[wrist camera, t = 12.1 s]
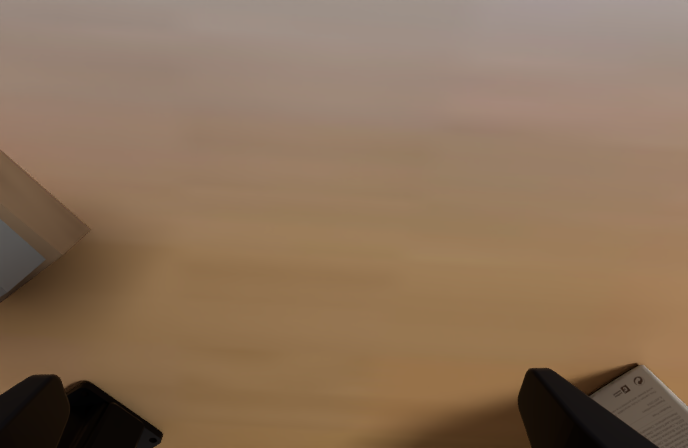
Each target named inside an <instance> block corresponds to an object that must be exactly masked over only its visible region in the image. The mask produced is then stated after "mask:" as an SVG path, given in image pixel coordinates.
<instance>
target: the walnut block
mask: <svg viewBox="0 0 688 448" xmlns="http://www.w3.org/2000/svg"><path fill="white" fill-rule="evenodd" d="M0 219H1V220H2V221H3V222H4V223H6V224H7V225H8V226H9V227H10V228H11V229H12V230H14V231H15V232H16V233H17V234H18V235H19V236H20V237H21V238H23V239H24V240H25V241H26V242H27V243H28V244H29V245H30V246H32V247H33V248H34V249H35V250H36V251H37V252H38V253H39V254H41V255H42V256H43V257H44V258H45V259H46V260H45V261H44V262H42V263H41V264H40V265H39V266H38V267H37V268H35V269H34V270H33V271H32V272H31V273H30V274H28V275H27V276H26V277H25V278H24V279H23V280H21V281H20V282H19V283H18V284H17V285H16V286H14V287H13V288H12V289H11V290H10V291H9V292H7V293H6V294H4V295H3V296H1V297H0V302H2V301H3V300H4V299H6V298H7V297H8V296H10V295H11V294H12V293H14V292H15V291H16V290H17V289H19V288H20V287H21V286H23V285H24V284H25V283H27V282H28V281H29V280H31V279H32V278H33V277H35V276H36V275H37V274H39V273H40V272H41V271H42V270H44V269H45V268H46V267H48V266H49V265H50V264H52V263H53V262H54V261H56V260H57V259H58V258H60V257H61V256H62V255H63V254H65V253H66V252H67V251H68V250H69V249H70V248H71V247H72V246H73V245H75V244H76V243H77V242H78V241H79V240H80V239H81V238H82V237H83V236H85V235H86V234H87V233H88V232H89V231H90V230H91V229H90V228H89V227H88V226H87V225H86V224H84V223H83V222H82V221H81V220H80V219H79V218H78V217H76V216H75V215H74V214H73V213H72V212H71V211H70V210H68V209H67V208H66V207H65V206H64V205H63V204H62V203H60V202H59V201H58V200H57V199H56V198H55V197H54V196H53V195H51V194H50V193H49V192H48V191H47V190H46V189H45V188H43V187H42V186H41V185H40V184H39V183H38V182H37V181H35V180H34V179H33V178H32V177H31V176H30V175H29V174H27V173H26V172H25V171H24V170H23V169H22V168H21V167H20V166H18V165H17V164H16V163H15V162H14V161H13V160H12V159H10V158H9V157H8V156H7V155H6V154H5V153H4V152H2V151H1V150H0Z"/></svg>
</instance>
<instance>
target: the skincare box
mask: <svg viewBox="0 0 688 448" xmlns="http://www.w3.org/2000/svg"><path fill="white" fill-rule="evenodd" d="M589 397H590V398H592V399H593V400H595V401H596V402H597V403H599V404H600V405H601V406H603V407H604V408H606V409H607V410H608V411H610V412H611V413H612V414H614V415H615V416H617V417H618V418H619V419H621V420H622V421H623V422H625V423H626V424H628V425H629V426H630V427H632V428H633V429H635V430H636V431H637V432H639V433H640V434H641V435H643V436H644V437H646V438H647V439H648V440H650V441H651V442H652V443H654V444H655V445H657V446H658V447H659V448H688V406H687V405H686V404H684V403H683V402H682V401H681V400H680V399H679V398H678V397H677V396H676V395H675V394H674V393H673V392H672V391H671V390H670V389H669V388H668V387H667V386H666V385H665V384H664V383H663V382H662V381H661V380H659V379H658V378H657V377H656V376H655V375H654V374H653V373H652V372H651V371H650V370H649V369H647V368H646V367H645V366H644V365H639V366H637V367H635V368H634V369H632V370H630V371H628V372H627V373H625V374H623V375H622V376H620V377H619V378H617V379H615V380H614V381H612V382H611V383H609V384H608V385H606V386H604V387H603V388H601V389H600V390H598V391H597V392H595V393H594V394H592V395H591V396H589Z"/></svg>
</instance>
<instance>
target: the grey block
mask: <svg viewBox="0 0 688 448" xmlns="http://www.w3.org/2000/svg"><path fill="white" fill-rule="evenodd" d="M45 260H46V259H45V258H44V257H43V256H42V255H41V254H39V253H38V252H37V251H36V250H35V249H34V248H33V247H32V246H30V245H29V244H28V243H27V242H26V241H25V240H24V239H23V238H21V237H20V236H19V235H18V234H17V233H16V232H15V231H14V230H12V229H11V228H10V227H9V226H8V225H7V224H6V223H4V222H3V221H2V220H1V219H0V297H1V296H3V295H4V294H6V293H7V292H9V291H10V290H11V289H12V288H13V287H14V286H16V285H17V284H18V283H19V282H20V281H21V280H23V279H24V278H25V277H26V276H27V275H28V274H30V273H31V272H32V271H33V270H34V269H35V268H37V267H38V266H39V265H40V264H41V263H42V262H44V261H45Z"/></svg>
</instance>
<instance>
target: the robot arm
mask: <svg viewBox="0 0 688 448" xmlns="http://www.w3.org/2000/svg"><path fill="white" fill-rule="evenodd" d="M518 407H519V411H520V414H521V417H522V420H523V423H524V426H525V429H526V432H527V435H528V438H529V441H530V444H531V447H532V448H659V447H658V446H657V445H655V444H654V443H652V442H651V441H650V440H648V439H647V438H646V437H644V436H643V435H641V434H640V433H639V432H637V431H636V430H635V429H633V428H632V427H630V426H629V425H628V424H626V423H625V422H623V421H622V420H621V419H619V418H618V417H617V416H615V415H614V414H612V413H611V412H610V411H608V410H607V409H606V408H604V407H603V406H601V405H600V404H599V403H597V402H596V401H595V400H593V399H592V398H590V397H589V396H588V395H586V394H585V393H583V392H582V391H581V390H579V389H578V388H577V387H575V386H574V385H572V384H571V383H570V382H568V381H567V380H566V379H564V378H563V377H561V376H560V375H559V374H557V373H556V372H555V371H553V370H551V369H549V368H530V369H529V370H528V371H527V372H526V374H525V377H524V380H523V383H522V386H521V389H520V392H519V395H518ZM162 437H163V433H162V432H161V431H159V430H158V429H156V428H155V427H153V426H152V425H151V424H149V423H148V422H146V421H145V420H143V419H142V418H141V417H139V416H138V415H136V414H135V413H133V412H132V411H131V410H129V409H128V408H126V407H125V406H123V405H122V404H121V403H119V402H118V401H116V400H115V399H113V398H112V397H111V396H109V395H108V394H106V393H105V392H103V391H102V390H101V389H99V388H98V387H96V386H95V385H93V384H91V383H88V382H84V383H81V384H80V385H78V386H77V387H75V388H73V389H72V390H70V391H69V392H67V393H65V390H64V387H63V384H62V381H61V379H60V378H59V377H58V376H57V375H54V374H51V375H32V376H30V377H28V378H26V379H25V380H23V381H22V382H20V383H18V384H17V385H15V386H14V387H12V388H11V389H9V390H8V391H6V392H5V393H3V394H1V395H0V448H153V447H155V446H157V445H158V444H160V443H161V440H162Z"/></svg>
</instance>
